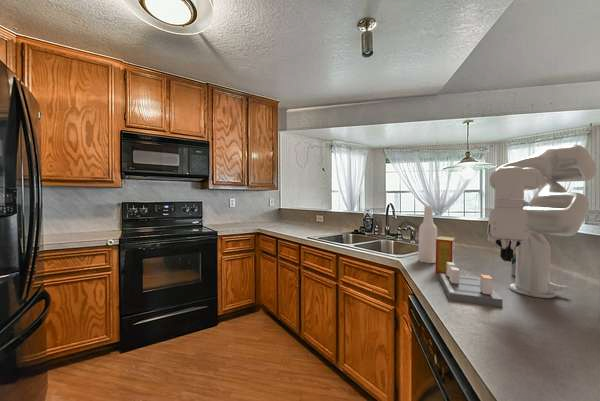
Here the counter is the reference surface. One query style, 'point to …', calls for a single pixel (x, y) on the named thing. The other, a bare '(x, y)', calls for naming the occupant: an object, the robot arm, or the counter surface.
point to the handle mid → (454, 275)
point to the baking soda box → (444, 253)
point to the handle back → (449, 264)
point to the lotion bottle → (514, 263)
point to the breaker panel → (468, 291)
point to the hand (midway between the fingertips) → (506, 260)
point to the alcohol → (427, 237)
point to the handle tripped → (486, 284)
